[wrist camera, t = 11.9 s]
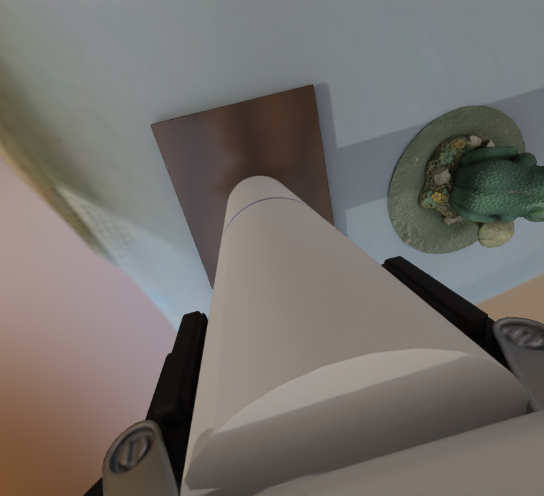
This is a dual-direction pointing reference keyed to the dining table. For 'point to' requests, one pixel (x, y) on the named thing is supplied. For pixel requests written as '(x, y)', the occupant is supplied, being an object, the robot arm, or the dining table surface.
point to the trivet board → (243, 159)
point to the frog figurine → (465, 183)
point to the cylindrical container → (322, 357)
